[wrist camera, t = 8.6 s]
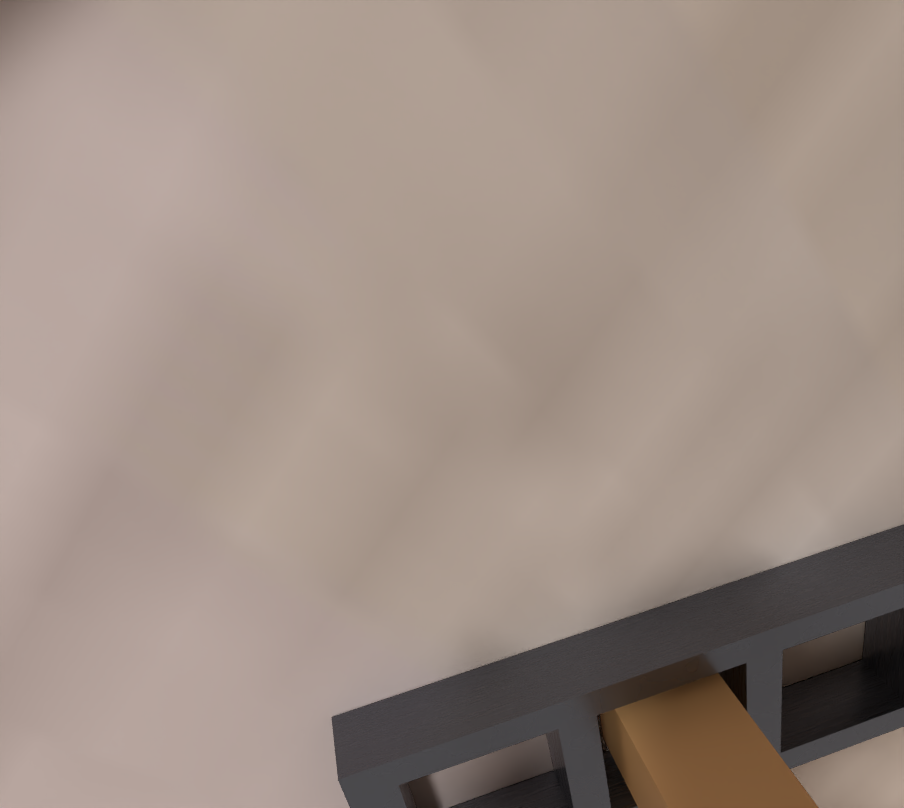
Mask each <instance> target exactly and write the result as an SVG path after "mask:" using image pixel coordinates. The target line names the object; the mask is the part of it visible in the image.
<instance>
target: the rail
mask: <svg viewBox="0 0 904 808" xmlns="http://www.w3.org/2000/svg"><path fill="white" fill-rule="evenodd" d="M864 621H866V626H865V637H864V648H863V658H862V660H860V661H858V662H855V663H852V664H849V665H847V666H844V667H841V668H838V669H835V670H833V671H830V672H827V673H824V674H821V675H819V676H816V677H813V678H810V679H807V680H805V681H802V682H799V683H796V684H794V685H791V686H788V687H785V688H782V658H783V650H784V649H787V648H790V647H793V646H796V645H799V644H801V643H804V642H807V641H810V640H813V639H816V638H818V637H821V636H824V635H827V634H830V633H833V632H835V631H838V630H841V629H844V628H847V627H850V626H853V625H855V624H858V623H861V622H864ZM716 673H719V675H720V676H721V677H722V679H723V680H724V681H725V683H726V684H727V685H728V687H729V688H730V689H731V691H732V692H733V693H734V695H735V696H736V697H737V699H738V700H739V701H740V703H741V704H742V705H743V707H744V708H745V710H746V711H747V712H748V714H749V715H750V716H751V718H752V719H753V720H754V722H755V723H756V724H757V726H758V727H759V728H760V730H761V731H762V732H763V734H764V735H765V736H766V738H767V739H768V740H769V742H770V743H771V744H772V746H773V747H774V749H775V750H776V751H777V753H778V754H779V755H780V757H781V758H782V759H783V761H784V762H785V763H786V765H787V766H788V767H789V769H791V768H794V767H797V766H799V765H802V764H805V763H807V762H810V761H813V760H815V759H818V758H821V757H823V756H826V755H829V754H831V753H834V752H837V751H839V750H842V749H845V748H847V747H850V746H853V745H856V744H858V743H861V742H864V741H866V740H869V739H872V738H874V737H877V736H880V735H882V734H885V733H888V732H890V731H893V730H896V729H898V728H901V727H904V525H901V526H898V527H895V528H892V529H889V530H886V531H883V532H880V533H877V534H874V535H871V536H868V537H865V538H862V539H860V540H857V541H854V542H851V543H848V544H845V545H842V546H839V547H836V548H833V549H830V550H827V551H824V552H821V553H818V554H815V555H812V556H809V557H806V558H803V559H800V560H797V561H794V562H791V563H788V564H785V565H782V566H779V567H776V568H773V569H770V570H767V571H764V572H762V573H759V574H756V575H753V576H750V577H747V578H744V579H741V580H738V581H735V582H732V583H729V584H726V585H723V586H720V587H717V588H714V589H711V590H708V591H705V592H702V593H699V594H696V595H693V596H690V597H687V598H684V599H681V600H678V601H675V602H672V603H669V604H666V605H664V606H661V607H658V608H655V609H652V610H649V611H646V612H643V613H640V614H637V615H634V616H631V617H628V618H625V619H622V620H619V621H616V622H613V623H610V624H607V625H604V626H601V627H598V628H595V629H592V630H589V631H586V632H583V633H580V634H577V635H574V636H571V637H568V638H566V639H563V640H560V641H557V642H554V643H551V644H548V645H545V646H542V647H539V648H536V649H533V650H530V651H527V652H524V653H521V654H518V655H515V656H512V657H509V658H506V659H503V660H500V661H497V662H494V663H491V664H488V665H485V666H482V667H479V668H476V669H473V670H470V671H468V672H465V673H462V674H459V675H456V676H453V677H450V678H447V679H444V680H441V681H438V682H435V683H432V684H429V685H426V686H423V687H420V688H417V689H414V690H411V691H408V692H405V693H402V694H399V695H396V696H393V697H390V698H387V699H384V700H381V701H378V702H375V703H372V704H370V705H367V706H364V707H361V708H358V709H355V710H352V711H349V712H346V713H343V714H340V715H337V716H334V717H332V726H333V735H334V745H335V754H336V764H337V773H338V781H339V783H340V785H341V788H342V790H343V792H344V795H345V797H346V799H347V802H348V804H349V806H350V808H417V807H416V804H415V802H414V799H413V796H412V793H411V790H410V788H409V785H408V782H409V781H412V780H415V779H418V778H421V777H423V776H426V775H429V774H432V773H435V772H438V771H440V770H443V769H446V768H449V767H452V766H455V765H458V764H460V763H463V762H466V761H469V760H472V759H475V758H477V757H480V756H483V755H486V754H489V753H492V752H494V751H497V750H500V749H503V748H506V747H509V746H512V745H514V744H517V743H520V742H523V741H526V740H529V739H531V738H534V737H537V736H540V735H543V734H546V735H547V740H548V745H549V750H550V755H551V759H552V764H553V769H554V771H551V772H548V773H545V774H543V775H540V776H537V777H534V778H531V779H529V780H526V781H523V782H520V783H518V784H515V785H512V786H509V787H506V788H504V789H501V790H498V791H495V792H492V793H490V794H487V795H484V796H481V797H479V798H476V799H473V800H470V801H467V802H465V803H462V804H459V805H456V806H453V807H451V808H638V806H637V804H636V802H635V800H634V798H633V796H632V794H631V792H630V790H629V788H628V786H627V784H626V782H625V780H624V778H623V776H622V774H621V772H620V770H619V769H618V767H617V765H616V763H615V761H614V759H613V757H612V755H611V753H610V751H607V752H604V753H603V752H602V745H601V739H600V732H599V726H598V719H597V715H600V714H602V713H605V712H608V711H611V710H614V709H617V708H619V707H622V706H625V705H628V704H631V703H634V702H637V701H639V700H642V699H645V698H648V697H651V696H654V695H656V694H659V693H662V692H665V691H668V690H671V689H673V688H676V687H679V686H682V685H685V684H688V683H691V682H693V681H696V680H699V679H702V678H705V677H708V676H710V675H713V674H716Z"/></svg>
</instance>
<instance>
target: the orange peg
mask: <svg viewBox="0 0 904 808" xmlns="http://www.w3.org/2000/svg"><path fill="white" fill-rule="evenodd" d="M600 720H601V727H602V734H603V739H604V741H605V743H606V745H607V747H608V749H609V751H610V753H611V755H612V757H613V759H614V761H615V763H616V765H617V767H618V769H619V770H620V772H621V774H622V776H623V778H624V780H625V782H626V784H627V786H628V788H629V790H630V792H631V794H632V796H633V798H634V800H635V802H636V804H637V806H638V808H818V806H817V805H816V804H815V802H814V801H813V800H812V798H811V797H810V796H809V794H808V793H807V792H806V790H805V789H804V788H803V786H802V785H801V784H800V782H799V781H798V779H797V778H796V777H795V775H794V774H793V773H792V771H791V770H790V769H789V767H788V766H787V765H786V763H785V762H784V761H783V759H782V758H781V757H780V755H779V754H778V753H777V751H776V750H775V749H774V747H773V746H772V744H771V743H770V742H769V740H768V739H767V738H766V736H765V735H764V734H763V732H762V731H761V730H760V728H759V727H758V726H757V724H756V723H755V722H754V720H753V719H752V718H751V716H750V715H749V714H748V712H747V711H746V710H745V708H744V707H743V705H742V704H741V703H740V701H739V700H738V699H737V697H736V696H735V695H734V693H733V692H732V691H731V689H730V688H729V687H728V685H727V684H726V683H725V681H724V680H723V679H722V677H721V676H720V675H719V673H716V674H713V675H710V676H708V677H705V678H702V679H699V680H696V681H693V682H691V683H688V684H685V685H682V686H679V687H676V688H673V689H671V690H668V691H665V692H662V693H659V694H656V695H654V696H651V697H648V698H645V699H642V700H639V701H637V702H634V703H631V704H628V705H625V706H622V707H619V708H617V709H614V710H611V711H608V712H605V713H602V714H600Z"/></svg>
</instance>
